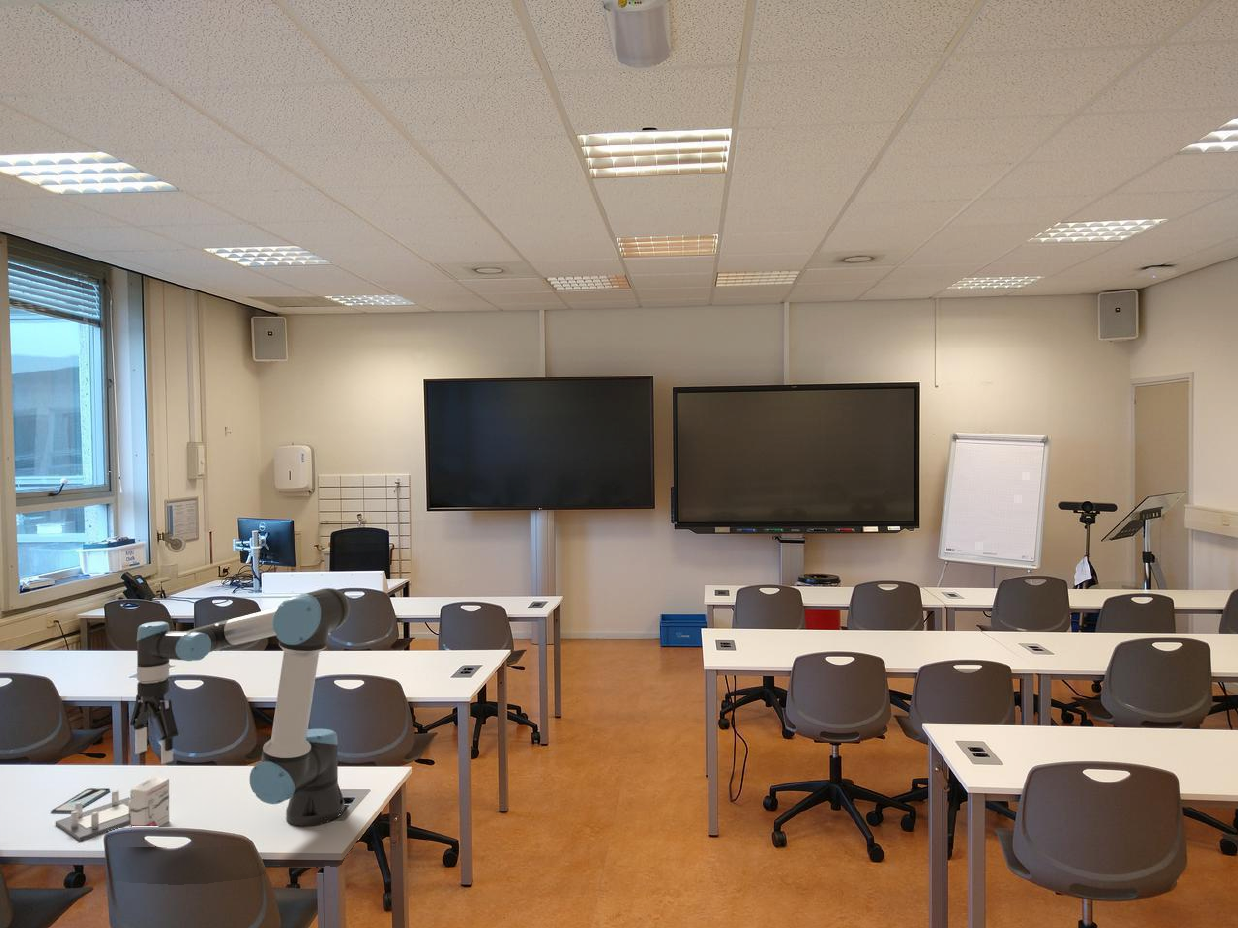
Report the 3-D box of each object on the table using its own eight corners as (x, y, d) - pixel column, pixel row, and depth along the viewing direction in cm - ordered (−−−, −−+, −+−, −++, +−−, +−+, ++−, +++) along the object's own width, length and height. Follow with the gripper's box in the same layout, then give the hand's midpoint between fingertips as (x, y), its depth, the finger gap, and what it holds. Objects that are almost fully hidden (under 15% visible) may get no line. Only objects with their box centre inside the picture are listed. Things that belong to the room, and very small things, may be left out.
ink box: (145, 835, 200) (144, 791, 200) (129, 834, 201) (128, 789, 201) (170, 820, 209) (170, 777, 209) (155, 819, 210) (154, 776, 210)
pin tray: (154, 814, 212) (153, 796, 212) (79, 841, 198) (79, 822, 198) (128, 800, 222) (128, 783, 222) (55, 824, 207) (55, 806, 207)
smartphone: (48, 811, 214) (88, 787, 229) (48, 815, 214) (88, 791, 229) (74, 812, 214) (111, 788, 229) (74, 815, 214) (111, 791, 229)
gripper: (192, 682, 205) (192, 761, 205) (144, 669, 218) (144, 743, 218) (163, 689, 198) (163, 771, 198) (115, 676, 212) (116, 752, 212)
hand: (153, 756), depth 208 cm, fingers open, 13 cm apart
